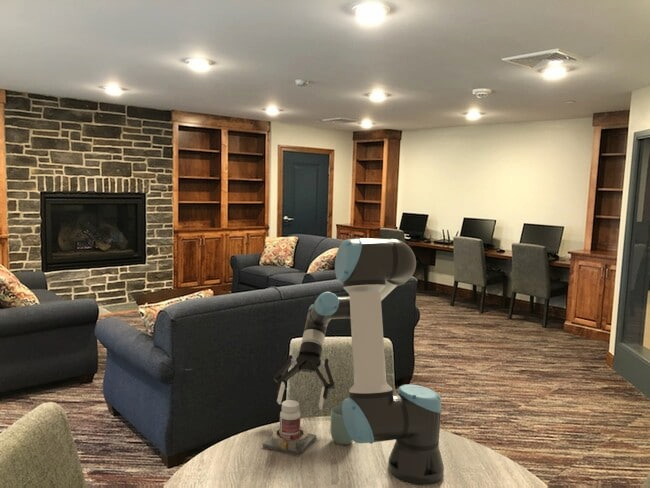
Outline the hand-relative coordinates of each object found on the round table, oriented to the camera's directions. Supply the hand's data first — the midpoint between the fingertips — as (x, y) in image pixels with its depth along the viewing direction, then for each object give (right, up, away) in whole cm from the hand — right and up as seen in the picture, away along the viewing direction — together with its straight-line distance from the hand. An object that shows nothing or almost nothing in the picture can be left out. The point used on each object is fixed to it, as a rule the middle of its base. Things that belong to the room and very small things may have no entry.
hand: (299, 405), depth 172 cm
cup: (+14, -9, -7) cm, 18 cm away
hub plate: (-2, -9, -9) cm, 13 cm away
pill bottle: (-3, -8, -10) cm, 13 cm away
